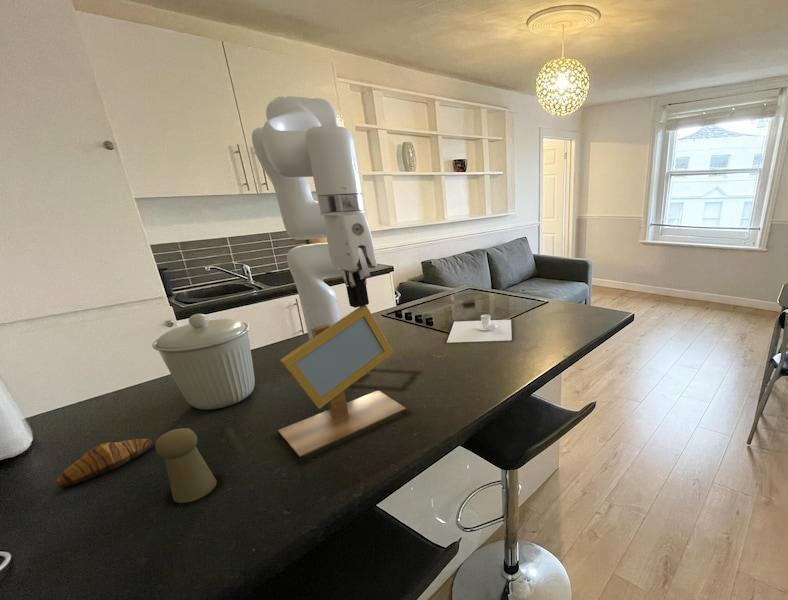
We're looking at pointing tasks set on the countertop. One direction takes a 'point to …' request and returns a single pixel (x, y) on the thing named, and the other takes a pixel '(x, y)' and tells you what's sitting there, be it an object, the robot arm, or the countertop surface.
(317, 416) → the display stand
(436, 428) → the countertop surface
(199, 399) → the canister
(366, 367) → the picture frame
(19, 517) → the countertop surface
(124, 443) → the croissant
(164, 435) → the cork
